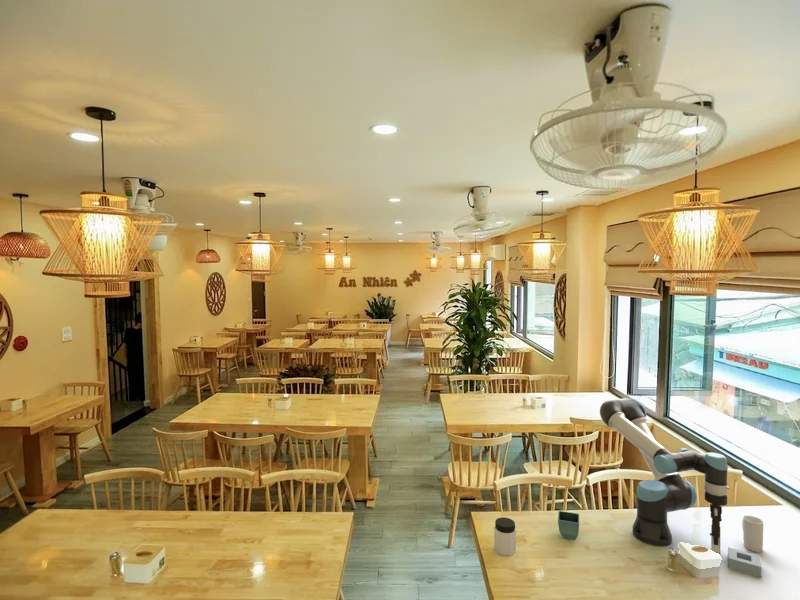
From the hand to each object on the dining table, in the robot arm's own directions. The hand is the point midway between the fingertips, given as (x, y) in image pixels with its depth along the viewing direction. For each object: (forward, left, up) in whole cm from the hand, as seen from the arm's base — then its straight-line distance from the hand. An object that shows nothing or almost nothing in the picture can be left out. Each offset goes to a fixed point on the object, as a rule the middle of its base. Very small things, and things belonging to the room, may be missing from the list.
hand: (715, 544), depth 180 cm
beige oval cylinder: (+12, +17, -5) cm, 21 cm away
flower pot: (-53, -20, -5) cm, 57 cm away
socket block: (+9, -3, -5) cm, 11 cm away
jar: (-72, -46, -5) cm, 86 cm away
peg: (0, 0, -5) cm, 5 cm away
